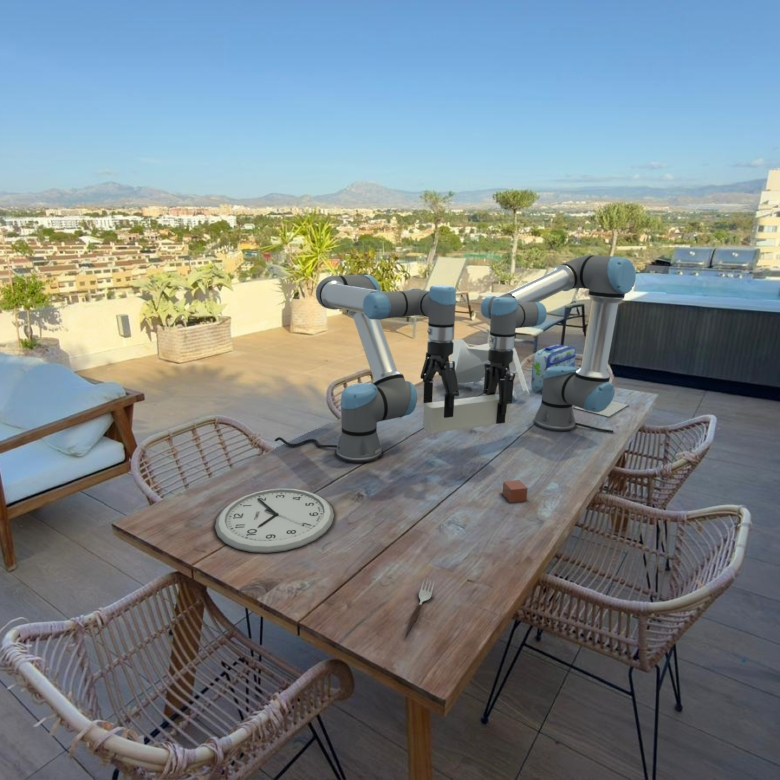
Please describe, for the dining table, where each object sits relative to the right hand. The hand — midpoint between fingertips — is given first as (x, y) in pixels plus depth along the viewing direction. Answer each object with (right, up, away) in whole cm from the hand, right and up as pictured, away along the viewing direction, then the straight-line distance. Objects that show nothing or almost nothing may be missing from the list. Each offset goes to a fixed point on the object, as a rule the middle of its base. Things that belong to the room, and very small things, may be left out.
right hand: (495, 419), depth 167 cm
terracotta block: (+2, -21, -18) cm, 28 cm away
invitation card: (+58, +2, +59) cm, 83 cm away
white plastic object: (+8, +8, +76) cm, 77 cm away
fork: (-28, -35, -63) cm, 77 cm away
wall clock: (-63, -24, -31) cm, 75 cm away
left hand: (-19, +4, -10) cm, 22 cm away
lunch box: (+44, +10, +83) cm, 94 cm away
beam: (-10, -1, -4) cm, 10 cm away
